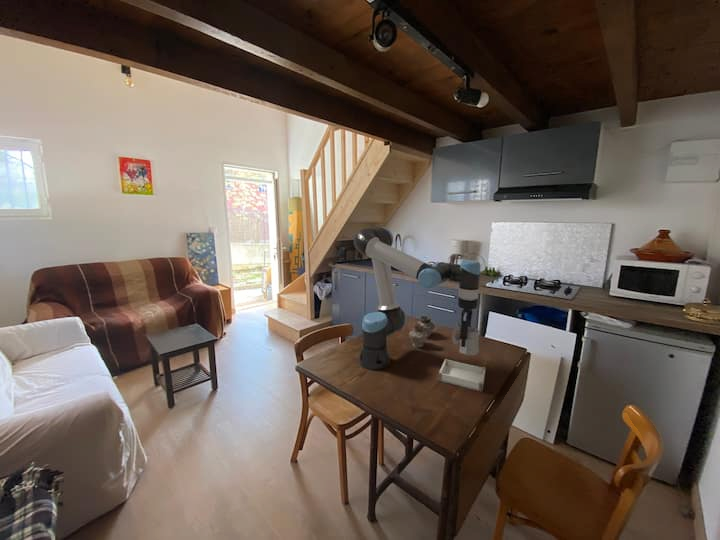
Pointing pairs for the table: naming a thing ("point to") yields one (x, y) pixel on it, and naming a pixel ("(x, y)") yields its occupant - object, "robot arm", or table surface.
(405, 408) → the table surface
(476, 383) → the crate
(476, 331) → the mug
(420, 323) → the pottery
